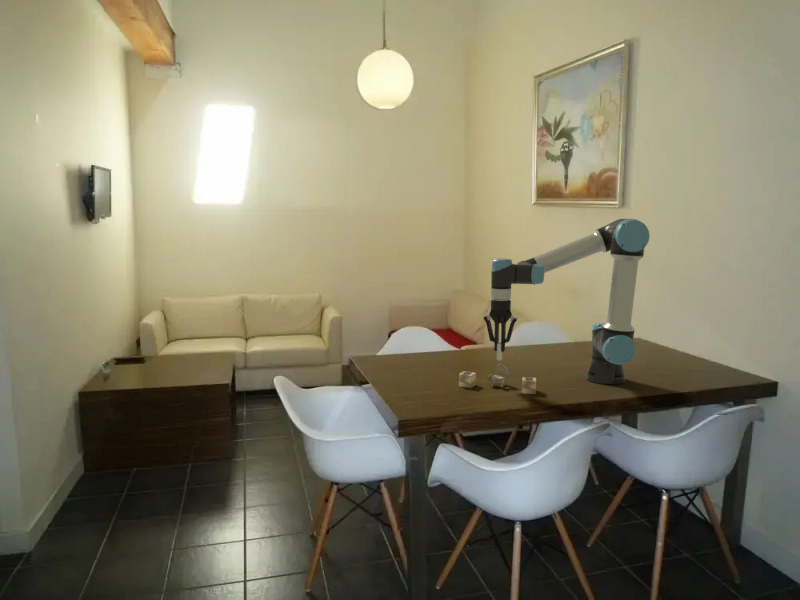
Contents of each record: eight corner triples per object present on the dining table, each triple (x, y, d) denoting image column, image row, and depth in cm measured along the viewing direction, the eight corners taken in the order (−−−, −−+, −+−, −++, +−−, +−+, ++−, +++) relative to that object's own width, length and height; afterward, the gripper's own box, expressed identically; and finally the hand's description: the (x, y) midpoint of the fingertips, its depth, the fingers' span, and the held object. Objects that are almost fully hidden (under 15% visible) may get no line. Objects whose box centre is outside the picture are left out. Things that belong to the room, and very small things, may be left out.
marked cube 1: (475, 385, 245) (475, 372, 244) (470, 388, 240) (470, 375, 240) (464, 383, 247) (464, 370, 246) (458, 386, 243) (458, 373, 242)
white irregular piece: (491, 386, 237) (489, 361, 241) (486, 390, 243) (484, 366, 247) (512, 387, 238) (510, 362, 242) (507, 391, 244) (505, 366, 248)
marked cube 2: (535, 390, 237) (535, 377, 236) (535, 394, 232) (536, 380, 232) (522, 389, 238) (522, 376, 237) (522, 393, 233) (522, 380, 232)
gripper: (519, 298, 238) (518, 358, 242) (486, 297, 243) (485, 356, 247) (516, 301, 232) (514, 363, 235) (481, 299, 236) (480, 360, 240)
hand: (499, 359), depth 241 cm, fingers closed
